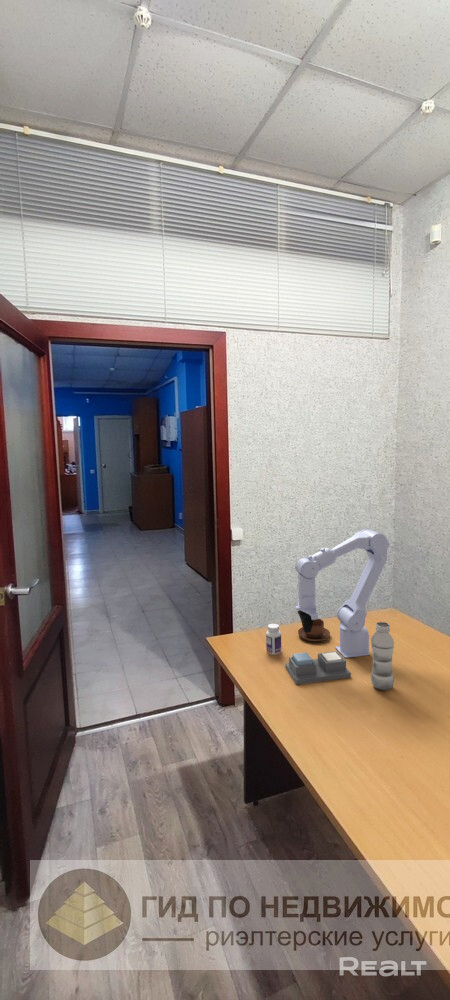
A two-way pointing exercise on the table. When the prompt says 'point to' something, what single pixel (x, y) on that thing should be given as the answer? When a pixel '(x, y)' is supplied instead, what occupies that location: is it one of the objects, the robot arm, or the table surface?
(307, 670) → the key panel
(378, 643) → the plastic bottle
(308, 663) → the blue key
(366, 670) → the table surface
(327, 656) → the white key
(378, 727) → the table surface
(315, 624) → the cup and saucer
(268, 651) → the pill bottle
